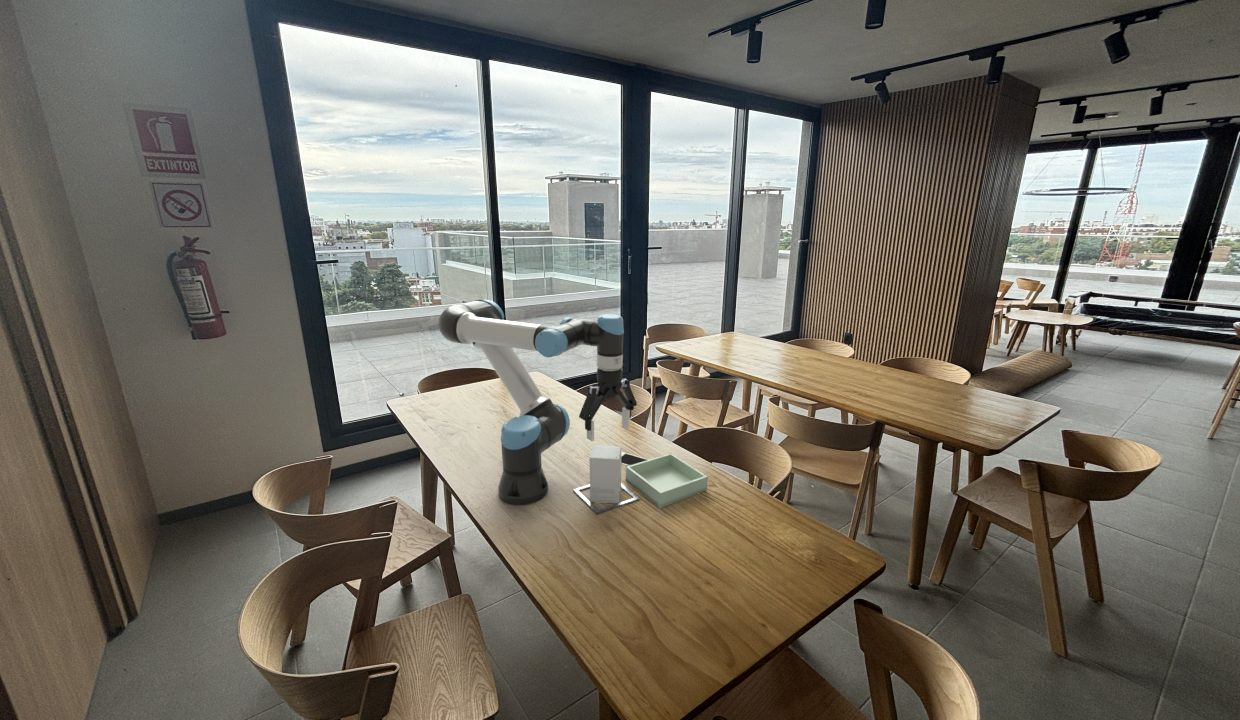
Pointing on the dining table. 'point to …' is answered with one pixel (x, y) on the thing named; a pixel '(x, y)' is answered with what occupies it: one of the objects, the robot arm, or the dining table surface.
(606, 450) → the supplement box
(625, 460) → the cell phone
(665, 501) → the bin
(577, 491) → the white square frame
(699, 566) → the dining table surface
